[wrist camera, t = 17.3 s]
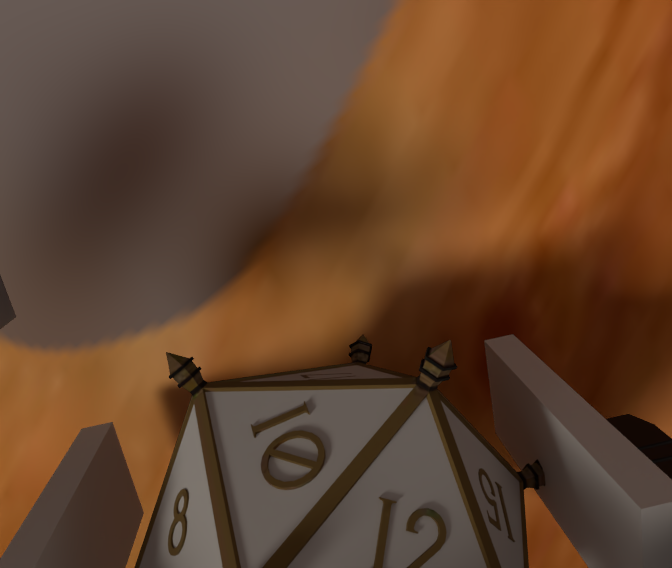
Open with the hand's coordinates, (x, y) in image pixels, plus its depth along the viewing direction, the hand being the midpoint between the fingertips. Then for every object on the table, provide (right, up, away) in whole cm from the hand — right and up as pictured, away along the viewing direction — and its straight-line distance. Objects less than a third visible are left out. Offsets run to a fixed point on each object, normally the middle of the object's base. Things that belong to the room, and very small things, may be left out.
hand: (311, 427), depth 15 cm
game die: (0, 0, +1) cm, 1 cm away
